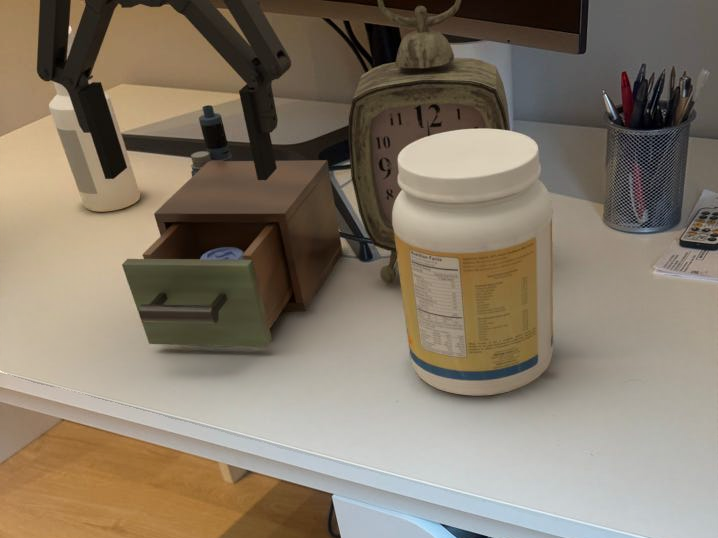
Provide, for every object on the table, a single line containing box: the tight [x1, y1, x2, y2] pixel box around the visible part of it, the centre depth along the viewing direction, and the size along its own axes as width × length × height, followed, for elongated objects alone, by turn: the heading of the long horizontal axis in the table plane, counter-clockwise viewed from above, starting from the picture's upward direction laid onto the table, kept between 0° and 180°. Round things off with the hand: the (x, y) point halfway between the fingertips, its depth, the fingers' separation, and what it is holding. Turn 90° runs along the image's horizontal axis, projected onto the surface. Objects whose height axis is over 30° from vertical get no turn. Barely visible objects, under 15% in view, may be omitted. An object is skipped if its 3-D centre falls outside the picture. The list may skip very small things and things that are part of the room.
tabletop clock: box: [347, 0, 511, 284], centre depth 82 cm, size 14×9×25 cm, turn 89°
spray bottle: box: [48, 25, 141, 213], centre depth 104 cm, size 7×7×18 cm
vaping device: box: [190, 104, 233, 178], centre depth 98 cm, size 3×5×12 cm, turn 147°
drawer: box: [121, 222, 294, 348], centre depth 81 cm, size 16×11×7 cm
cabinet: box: [153, 159, 343, 312], centre depth 89 cm, size 14×13×9 cm
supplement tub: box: [392, 129, 554, 397], centre depth 71 cm, size 12×12×17 cm
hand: (191, 174), depth 76 cm, fingers open, 13 cm apart
